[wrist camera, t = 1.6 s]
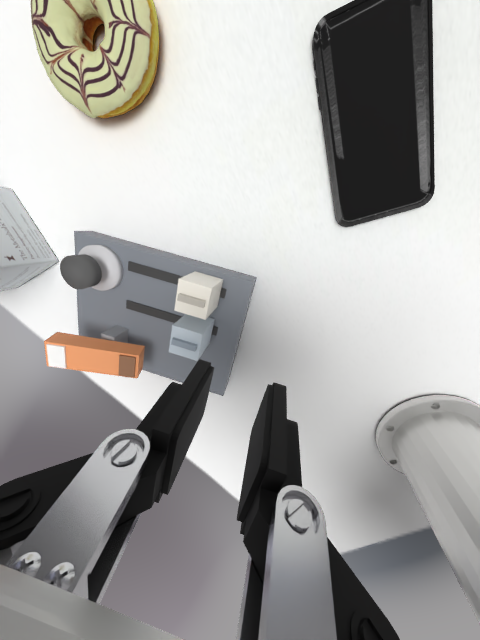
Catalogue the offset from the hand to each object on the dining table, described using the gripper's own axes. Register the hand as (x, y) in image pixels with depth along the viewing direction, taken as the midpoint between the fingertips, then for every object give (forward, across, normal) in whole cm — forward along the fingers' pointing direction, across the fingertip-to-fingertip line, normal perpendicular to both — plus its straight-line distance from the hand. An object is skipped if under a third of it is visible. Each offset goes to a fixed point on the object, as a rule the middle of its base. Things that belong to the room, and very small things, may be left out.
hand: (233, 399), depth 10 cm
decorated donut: (+18, +20, -18) cm, 32 cm away
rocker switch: (+11, +16, +10) cm, 21 cm away
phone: (+18, -4, -17) cm, 25 cm away
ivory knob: (+14, +6, 0) cm, 15 cm away
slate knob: (+14, +6, +4) cm, 16 cm away
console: (+17, +12, +6) cm, 21 cm away
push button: (+12, +18, +1) cm, 22 cm away
